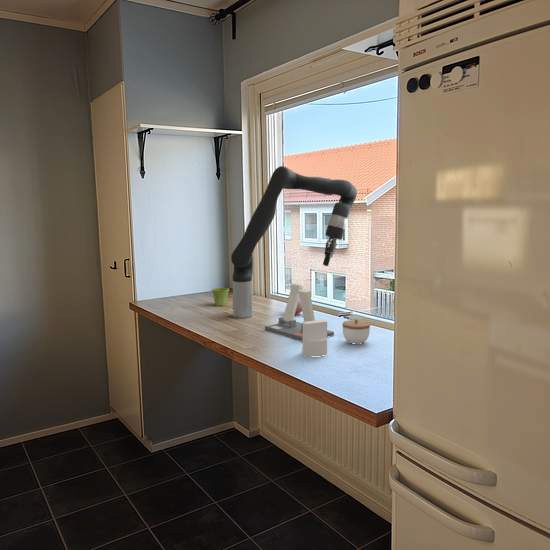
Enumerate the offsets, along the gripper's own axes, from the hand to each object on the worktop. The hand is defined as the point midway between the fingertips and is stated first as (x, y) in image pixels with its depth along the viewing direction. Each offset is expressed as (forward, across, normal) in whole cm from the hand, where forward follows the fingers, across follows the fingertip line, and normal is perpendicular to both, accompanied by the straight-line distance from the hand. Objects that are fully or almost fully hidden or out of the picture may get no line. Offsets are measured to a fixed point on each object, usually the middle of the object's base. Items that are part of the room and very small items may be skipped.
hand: (325, 265), depth 227 cm
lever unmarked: (+28, 0, -9) cm, 30 cm away
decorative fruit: (+25, -30, -12) cm, 41 cm away
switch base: (+31, +4, -2) cm, 31 cm away
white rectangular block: (+35, +31, +11) cm, 48 cm away
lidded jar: (+27, +13, +22) cm, 38 cm away
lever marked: (+27, +9, +3) cm, 29 cm away
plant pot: (+32, -42, -55) cm, 77 cm away
